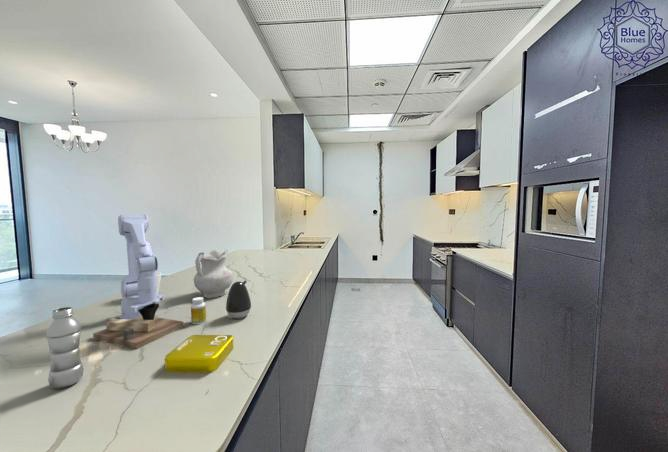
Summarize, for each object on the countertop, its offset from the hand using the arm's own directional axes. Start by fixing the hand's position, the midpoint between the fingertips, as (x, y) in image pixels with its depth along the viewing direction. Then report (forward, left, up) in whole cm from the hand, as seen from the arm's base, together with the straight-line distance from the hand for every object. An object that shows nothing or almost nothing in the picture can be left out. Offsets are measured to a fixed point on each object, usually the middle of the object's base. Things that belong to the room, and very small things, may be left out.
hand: (149, 324), depth 100 cm
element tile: (+33, -8, -4) cm, 34 cm away
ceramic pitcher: (-11, +43, -3) cm, 45 cm away
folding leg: (-5, -4, -1) cm, 6 cm away
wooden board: (-3, -1, -3) cm, 4 cm away
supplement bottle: (+10, +13, -3) cm, 17 cm away
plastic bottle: (+9, -29, -3) cm, 30 cm away
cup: (-40, +29, -3) cm, 49 cm away
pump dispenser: (+22, +23, -3) cm, 32 cm away
